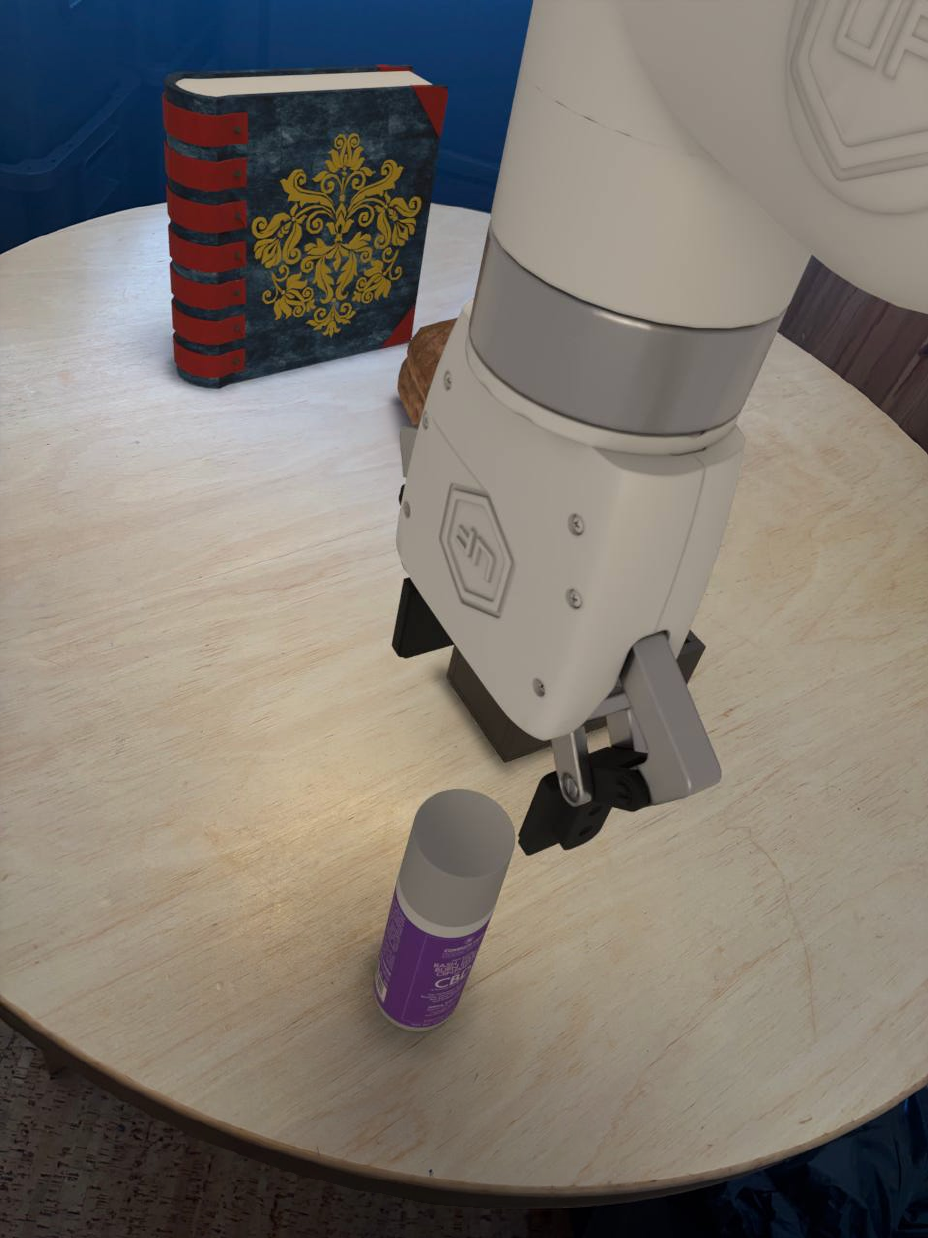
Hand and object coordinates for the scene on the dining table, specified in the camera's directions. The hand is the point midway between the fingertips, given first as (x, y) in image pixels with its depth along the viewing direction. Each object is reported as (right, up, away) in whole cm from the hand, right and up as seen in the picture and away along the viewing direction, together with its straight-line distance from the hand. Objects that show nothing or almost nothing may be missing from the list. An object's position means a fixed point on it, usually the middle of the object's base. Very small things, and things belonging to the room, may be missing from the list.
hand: (487, 733), depth 36 cm
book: (-18, +31, +59) cm, 69 cm away
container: (-3, -15, +15) cm, 22 cm away
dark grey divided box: (+6, -1, +32) cm, 33 cm away
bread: (+8, +21, +55) cm, 60 cm away
